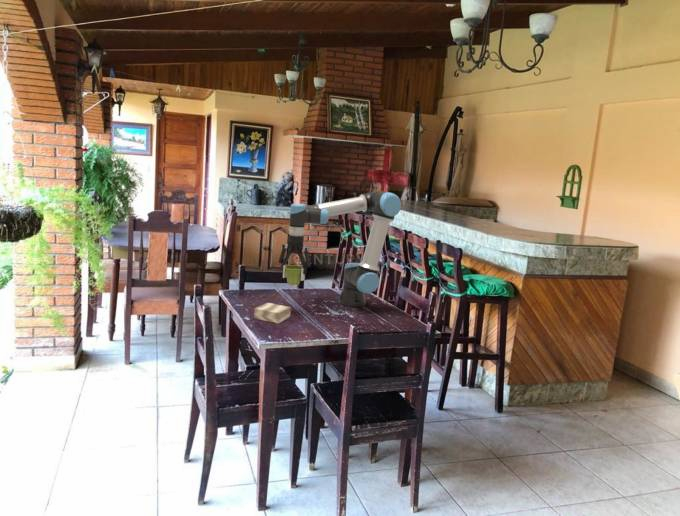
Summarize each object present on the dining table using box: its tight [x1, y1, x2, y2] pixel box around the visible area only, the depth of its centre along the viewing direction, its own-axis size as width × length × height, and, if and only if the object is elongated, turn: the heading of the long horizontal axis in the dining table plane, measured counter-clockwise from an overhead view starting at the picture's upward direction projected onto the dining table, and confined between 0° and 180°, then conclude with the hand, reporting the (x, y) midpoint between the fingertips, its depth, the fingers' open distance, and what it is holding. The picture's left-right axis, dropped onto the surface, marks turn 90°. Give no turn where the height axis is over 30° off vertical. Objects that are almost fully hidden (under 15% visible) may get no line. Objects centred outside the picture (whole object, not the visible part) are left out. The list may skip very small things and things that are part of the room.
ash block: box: [253, 302, 292, 324], centre depth 257 cm, size 13×13×5 cm
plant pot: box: [285, 264, 303, 286], centre depth 266 cm, size 9×9×9 cm
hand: (293, 278), depth 266 cm, fingers closed on plant pot, 9 cm apart
